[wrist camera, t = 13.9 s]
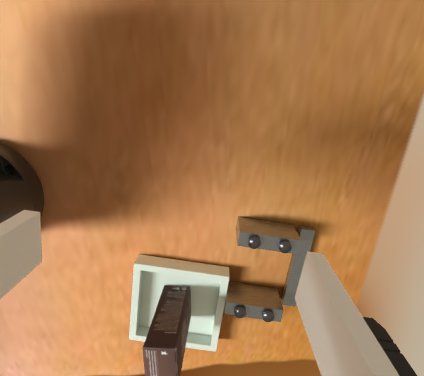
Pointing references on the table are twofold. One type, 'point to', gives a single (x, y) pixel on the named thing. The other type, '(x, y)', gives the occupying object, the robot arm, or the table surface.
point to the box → (168, 332)
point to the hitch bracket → (261, 295)
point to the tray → (200, 297)
